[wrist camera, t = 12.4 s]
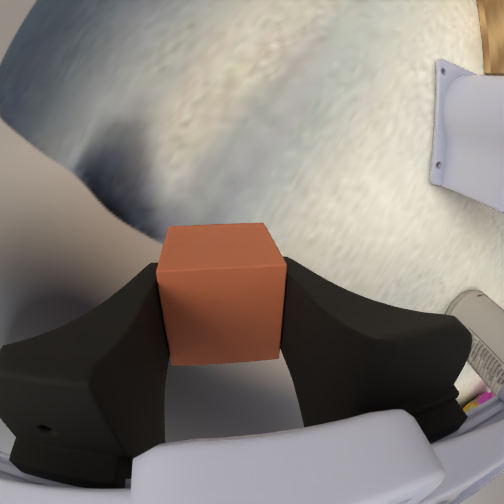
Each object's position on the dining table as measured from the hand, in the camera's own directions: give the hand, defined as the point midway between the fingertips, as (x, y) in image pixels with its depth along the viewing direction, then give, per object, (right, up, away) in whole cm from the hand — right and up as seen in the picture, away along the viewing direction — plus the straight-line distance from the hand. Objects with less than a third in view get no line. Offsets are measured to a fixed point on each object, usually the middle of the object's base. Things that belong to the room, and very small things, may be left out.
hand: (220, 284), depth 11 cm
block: (0, +1, +1) cm, 1 cm away
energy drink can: (+22, -5, +15) cm, 27 cm away
